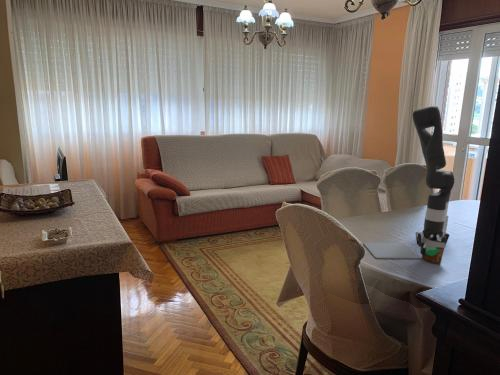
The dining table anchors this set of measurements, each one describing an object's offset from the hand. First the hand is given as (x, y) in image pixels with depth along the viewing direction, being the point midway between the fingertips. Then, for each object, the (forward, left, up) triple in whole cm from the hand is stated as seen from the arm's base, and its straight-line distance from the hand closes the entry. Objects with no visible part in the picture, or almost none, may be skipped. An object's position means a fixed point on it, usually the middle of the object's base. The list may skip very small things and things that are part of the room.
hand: (429, 255), depth 161 cm
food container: (+1, 0, -2) cm, 2 cm away
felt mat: (+13, -9, -2) cm, 16 cm away
